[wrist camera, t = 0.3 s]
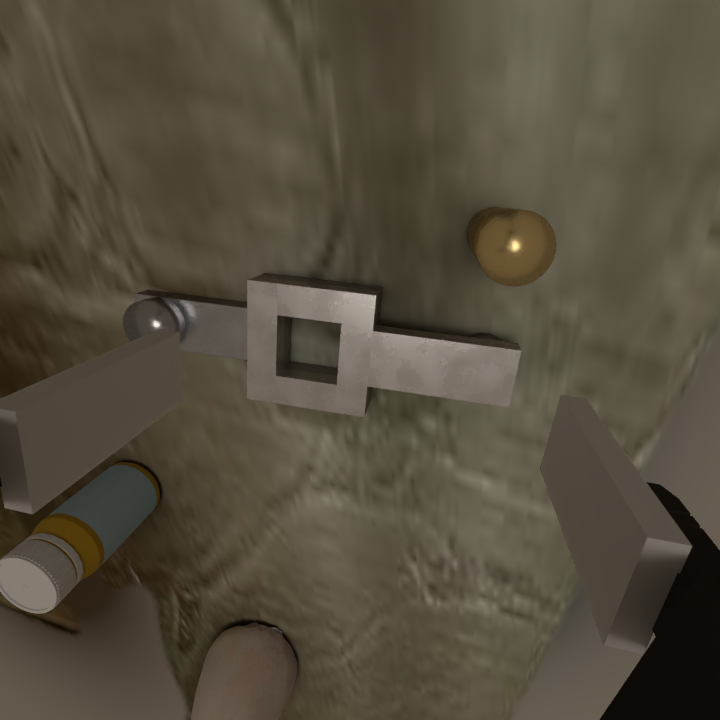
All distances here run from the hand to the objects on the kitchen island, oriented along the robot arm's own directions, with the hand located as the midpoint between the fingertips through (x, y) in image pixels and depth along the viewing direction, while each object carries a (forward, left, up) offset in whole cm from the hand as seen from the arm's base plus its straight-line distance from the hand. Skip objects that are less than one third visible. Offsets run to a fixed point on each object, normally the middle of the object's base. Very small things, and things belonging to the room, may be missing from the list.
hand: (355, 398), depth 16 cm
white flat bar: (+6, -8, -26) cm, 28 cm away
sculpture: (+50, -14, -26) cm, 59 cm away
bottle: (+27, -29, -26) cm, 48 cm away
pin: (-5, +6, -26) cm, 27 cm away
